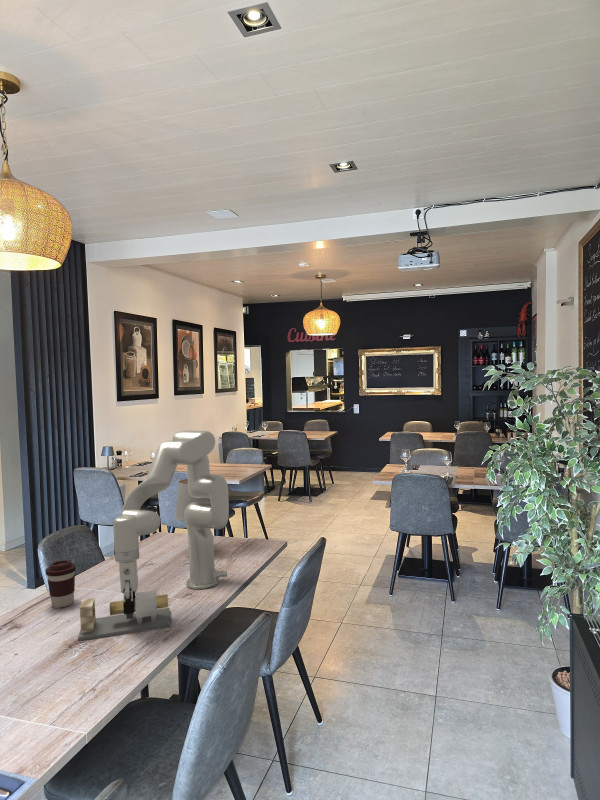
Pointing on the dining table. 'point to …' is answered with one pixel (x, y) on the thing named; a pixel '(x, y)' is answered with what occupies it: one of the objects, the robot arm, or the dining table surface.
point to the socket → (87, 615)
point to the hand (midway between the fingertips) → (129, 607)
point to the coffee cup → (61, 583)
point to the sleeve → (146, 606)
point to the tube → (119, 609)
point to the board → (125, 625)
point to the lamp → (184, 499)
